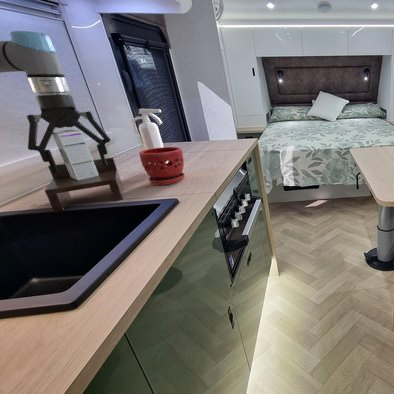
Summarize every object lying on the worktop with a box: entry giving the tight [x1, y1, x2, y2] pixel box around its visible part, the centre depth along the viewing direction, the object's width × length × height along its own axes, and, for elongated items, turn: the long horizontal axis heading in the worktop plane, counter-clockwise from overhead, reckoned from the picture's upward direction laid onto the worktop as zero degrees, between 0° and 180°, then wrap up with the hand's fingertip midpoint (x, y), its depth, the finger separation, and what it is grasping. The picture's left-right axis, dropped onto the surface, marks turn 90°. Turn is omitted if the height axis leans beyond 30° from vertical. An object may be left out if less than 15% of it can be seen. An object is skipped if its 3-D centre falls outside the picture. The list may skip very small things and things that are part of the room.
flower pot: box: [138, 146, 186, 186], centre depth 106 cm, size 13×13×12 cm
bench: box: [44, 157, 124, 214], centre depth 91 cm, size 16×14×11 cm
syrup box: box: [52, 128, 99, 180], centre depth 89 cm, size 6×6×14 cm
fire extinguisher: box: [131, 108, 169, 172], centre depth 116 cm, size 7×12×25 cm, turn 106°
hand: (81, 168), depth 90 cm, fingers open, 11 cm apart
